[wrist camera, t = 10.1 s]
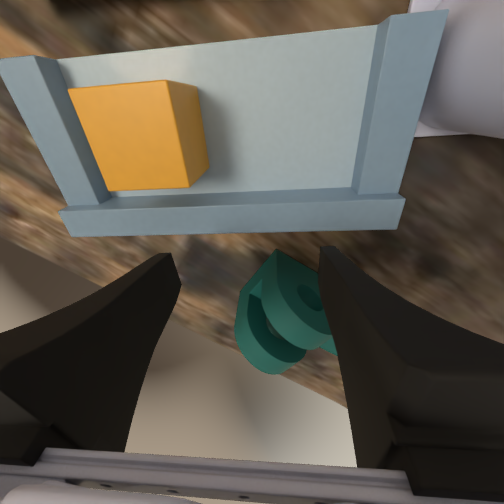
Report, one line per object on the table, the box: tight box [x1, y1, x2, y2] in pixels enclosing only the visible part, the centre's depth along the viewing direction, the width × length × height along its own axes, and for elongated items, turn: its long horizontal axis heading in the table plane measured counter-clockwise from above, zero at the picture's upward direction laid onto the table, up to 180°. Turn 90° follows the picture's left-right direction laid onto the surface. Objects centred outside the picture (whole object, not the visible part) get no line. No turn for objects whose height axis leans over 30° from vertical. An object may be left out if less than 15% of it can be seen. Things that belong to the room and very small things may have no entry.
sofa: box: [0, 9, 449, 237], centre depth 15 cm, size 22×10×6 cm, turn 94°
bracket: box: [234, 249, 337, 374], centre depth 23 cm, size 18×7×8 cm, turn 58°
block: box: [68, 79, 210, 191], centre depth 13 cm, size 4×4×4 cm
